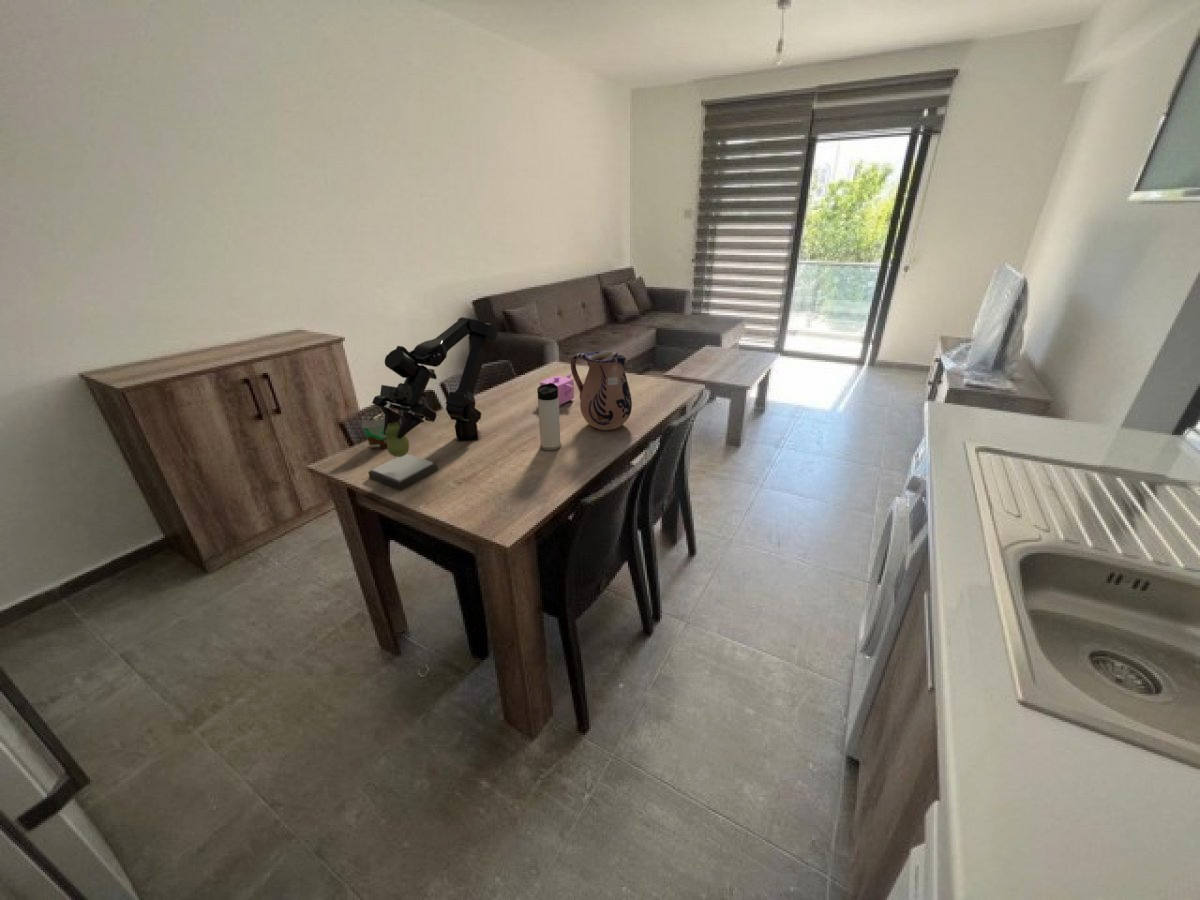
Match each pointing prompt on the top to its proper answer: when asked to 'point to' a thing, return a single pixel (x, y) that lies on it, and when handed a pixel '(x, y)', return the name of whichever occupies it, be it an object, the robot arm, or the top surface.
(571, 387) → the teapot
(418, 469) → the kitchen scale
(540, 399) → the travel mug
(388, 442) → the pear
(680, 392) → the top surface
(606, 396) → the ceramic pitcher
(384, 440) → the food container
